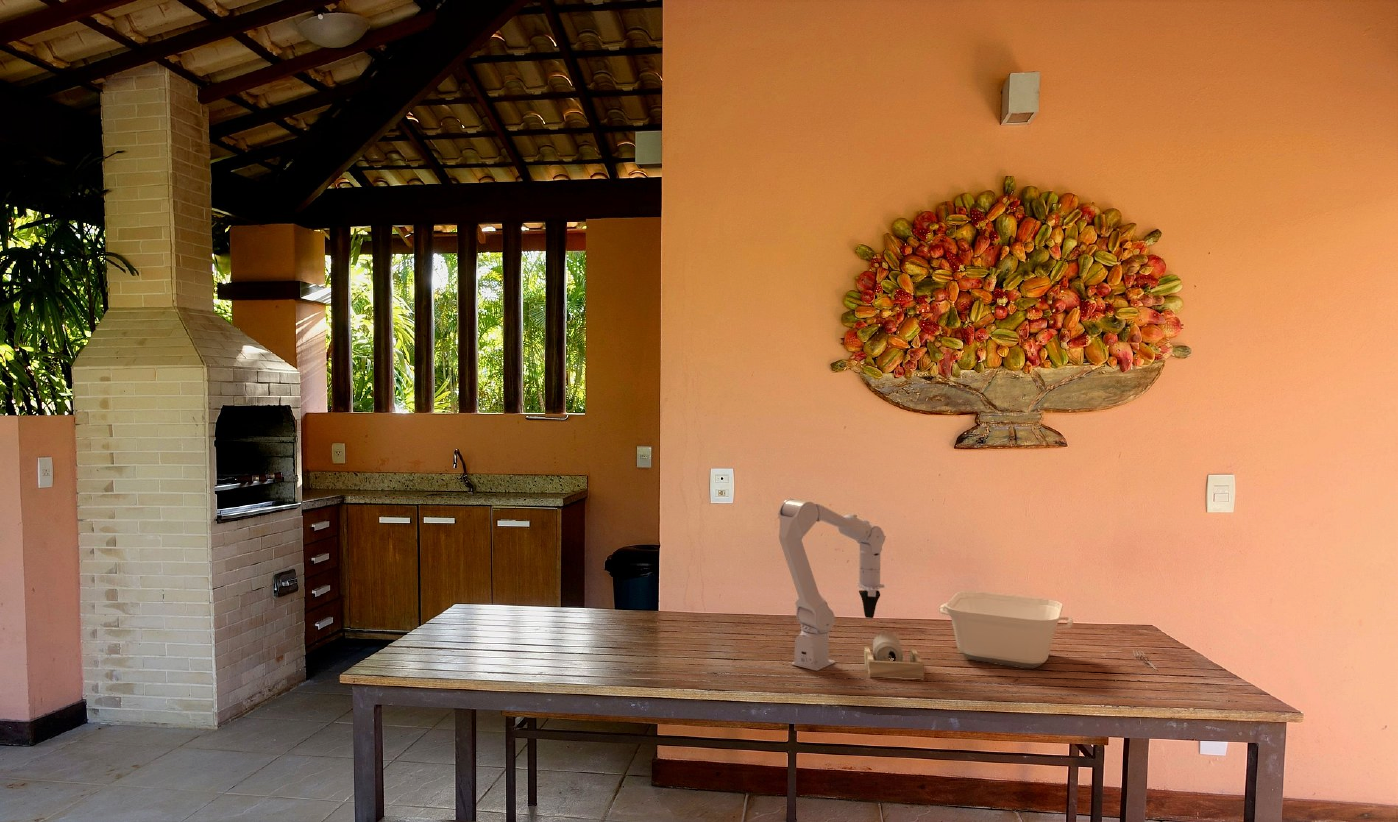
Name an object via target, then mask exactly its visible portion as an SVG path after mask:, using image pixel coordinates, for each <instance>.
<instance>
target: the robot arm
mask: <svg viewBox="0 0 1398 822" xmlns="http://www.w3.org/2000/svg"><path fill="white" fill-rule="evenodd" d="M777 515H778V519H779V532H778V533H779V534H778V537H779V538H778V539H779V540H778V541H779V542H780V545H781V549H782V551H783V554H784V557H785V558H784V559H785V561H786V562H787V563H786V564H787V566H788V568H789V569H788V570H789V572H790V576H791V578H792V581H793V584H794V587H795V590H796V591H795V592H796V593H797V596H798V598H797V599H796V600H795V603H794V604H795V608H796V614H795V617H796V619H797V621H798V622H799V623H800V628H801V631H800V633H799V635H798V636H796V638H795V640H794V654H793V655H794V656H793V657H794V660H793V661H792V662H791V665H792V666H797V667H800V668H804V669H807V670H812V671H817V672H818V671H820V670H822V669H824V668H826V667H828V666H831V665H833V664H835V663H836V661H835V660H834V659H833V660H832V659H829V657H830V654H829V653H830V648H829V645H830V637H829V636H830V633H831V630H832V628H833V627H834V625H835V622H836V617H835V615H836V614H834V611H833V610H832V609H831V608H830V607H829V605H828V601H826V599H825V598H824V597H823V596H822V595H821V594H820V591H819V590H818V587H817V583H816V581H815V577H814V574H813V571H812V567H811V565H810V562H809V559H808V557H807V556H808V555H807V553H806V549H805V547H804V543H803V538H804V537H805V536H806V535H807V533H808V532H809V531H810V530H811V529H812V528H813V527H814V525H815V524H816V523H820V522H824V523H827V524H829V525H832V526H834V527H837V530H838V531H839V534H841V535H843V536H845V537H848V538H850V539H852V540H854V541H856V542H857V544H859V553H858V554H859V556H858V557H859V561H858V562H859V563H858V564H859V565H858V566H859V567H858V569H859V570H858V583H857V584H858V586H857V587H859V588H860V589H862V590H858V593H859V595H860V597H861V598H860V599H861V602H862V605H863V608H862V609H863V613H864V617H865V619H874V616H875V611H876V606H877V603H878V601H879V599H880V597H881V593H880V589H885V584H884V583H881V552H882V551H883V546H884V544H885V541H886V535H885V533H884V531H883V529H882V528H881V527H880V526H877V525H873V524H871V523H870V521H868V520H862V519H860V518H858V515H856V514H854V513H850V514H845V515H841V514H839V513H838V512H835V511H833V510H832V509H829V508H827V507H825V506H824V505H821V504H819V503H814V502H812V501H803V500H797V499H793V498H787V499H786V500H783V502H782V503H781V505H780V507H779V509H778V511H777Z"/></svg>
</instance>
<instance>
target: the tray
mask: <svg viewBox="0 0 1398 822" xmlns="http://www.w3.org/2000/svg"><path fill="white" fill-rule="evenodd" d="M909 652H910V653H909V657H910V658H909V659H910V661H902V662H894V661H875V660H874V657H873V653H871V650H870V647H869V646H865V645H864V646H863V663H864V662H865V663H864V666H865V665H866V666H865V669H866V668H867V669H866V672H867V671H868V672H867V674H869V675H868V677H902V678H920V679H924V680H925V663H924V662H923V660H922V658H921V656H920V655H919V653H918V651H917V650H916V648H914V647H913V648H911V647H910V649H909Z"/></svg>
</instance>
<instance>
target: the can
mask: <svg viewBox="0 0 1398 822" xmlns="http://www.w3.org/2000/svg"><path fill="white" fill-rule="evenodd" d="M902 649H903V648H902V645H901V641H900V639H899V637H897V635H895V634H894V633H892V632H886V631H885V632H880V633H878V634H877V635H876V636H875V637H874V639H873V640H872V652H873V653H872V657H873V659H874V661H890V659H891V658H894V660H893V661H894V662H903V659H904V657H903V656H904V654H903V650H902ZM889 658H890V659H889Z"/></svg>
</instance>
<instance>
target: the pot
mask: <svg viewBox="0 0 1398 822" xmlns="http://www.w3.org/2000/svg"><path fill="white" fill-rule="evenodd" d="M1063 607H1064V604H1063V603H1062V602H1060V601H1058V600H1054V599H1049V598H1043V597H1033V596H1026V595H1016V594H1008V593H1007V594H1005V593H997V592H995V593H994V592H986V591H978V590H977V591H976V590H963V591H958V592H956V593H955V594H954V595H953V596H952V597H951V598H950V599H949V600H948V601H947V602H944V603H943V604H942V605H940V607H939V613H940V614H942V615H947V616H949V617H950V619H951V624H952V629H953V633H954V639H955V644H956V647H957V650H958V651H959V652H960V653H961V654H962V655H963V656H964V657H965V658H967V659H969V660H970V659H971V661H974V660H975V661H974V662H978V661H983V662H982V663H985V662H989V663H988V664H992V663H997V664H996V665H999V664H1002V665H1001V666H1006V665H1008V667H1012V666H1017V667H1016V668H1019V667H1023V668H1022V669H1027V668H1032V669H1035V668H1038V667H1040V666H1042V665H1043V664H1044V663H1045V662H1047V660H1048V658H1049V654H1050V651H1051V648H1052V643H1053V639H1054V636H1055V632H1056V630H1058V629H1063V630H1066V629H1071V628H1072V627H1073V624H1074V620H1073V618H1072V617H1069V616H1062V617H1061V615H1062V610H1063ZM1061 620H1062V621H1067V623H1066V625H1059V626H1058V624H1059V621H1061Z"/></svg>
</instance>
